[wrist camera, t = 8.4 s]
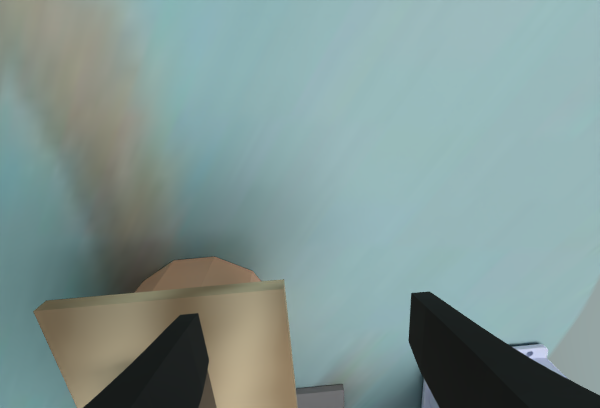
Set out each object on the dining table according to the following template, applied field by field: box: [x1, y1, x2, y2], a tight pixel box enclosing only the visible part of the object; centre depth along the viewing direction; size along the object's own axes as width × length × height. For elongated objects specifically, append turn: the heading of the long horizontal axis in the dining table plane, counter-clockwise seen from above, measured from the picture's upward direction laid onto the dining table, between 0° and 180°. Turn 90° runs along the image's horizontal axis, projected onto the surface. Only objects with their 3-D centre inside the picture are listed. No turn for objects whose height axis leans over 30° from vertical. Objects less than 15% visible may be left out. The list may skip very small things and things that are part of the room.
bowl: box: [134, 257, 261, 293], centre depth 19 cm, size 10×10×4 cm
